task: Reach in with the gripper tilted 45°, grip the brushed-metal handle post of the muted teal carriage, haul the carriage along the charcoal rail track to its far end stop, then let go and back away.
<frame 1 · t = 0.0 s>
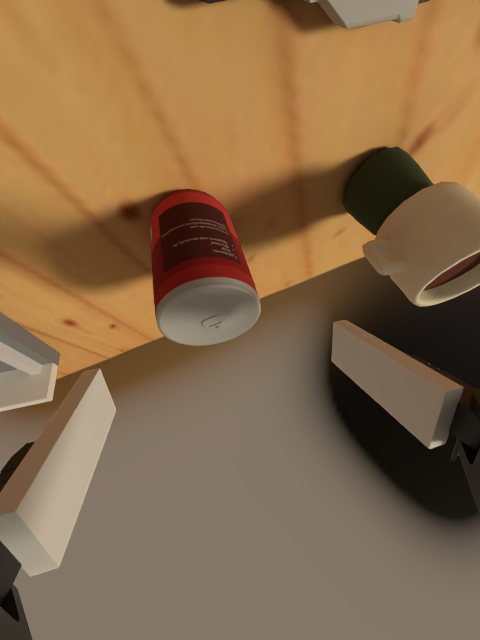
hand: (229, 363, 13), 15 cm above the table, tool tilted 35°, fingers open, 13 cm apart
canned food: (191, 225, 23), on the table
character mug: (369, 179, 23), on the table
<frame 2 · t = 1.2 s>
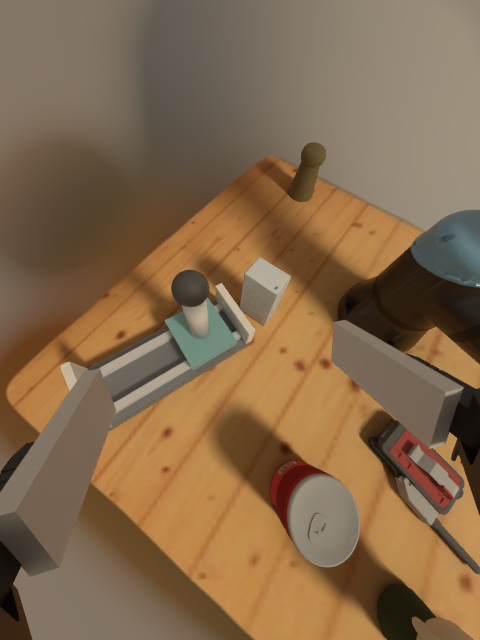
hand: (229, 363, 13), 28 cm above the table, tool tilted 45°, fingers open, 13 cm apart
rail track: (172, 358, 41), on the table
skincare box: (256, 310, 46), on the table
canned food: (294, 489, 35), on the table
carriage: (196, 313, 31), point 12 cm above the table, slide at -6.0 cm
olive pawn figure: (299, 193, 60), on the table
character mug: (397, 612, 30), on the table
walkie-talkie: (421, 483, 37), on the table
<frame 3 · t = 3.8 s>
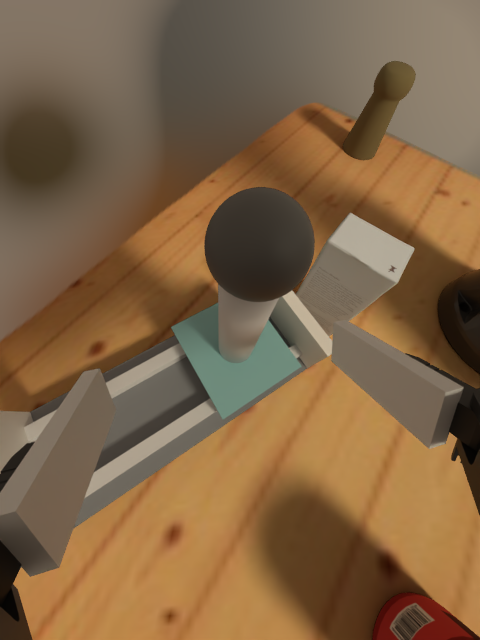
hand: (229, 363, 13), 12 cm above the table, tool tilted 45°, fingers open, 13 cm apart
rail track: (182, 390, 24), on the table
skincare box: (314, 311, 29), on the table
carriage: (242, 317, 15), point 12 cm above the table, slide at -6.0 cm
olive pawn figure: (358, 150, 43), on the table
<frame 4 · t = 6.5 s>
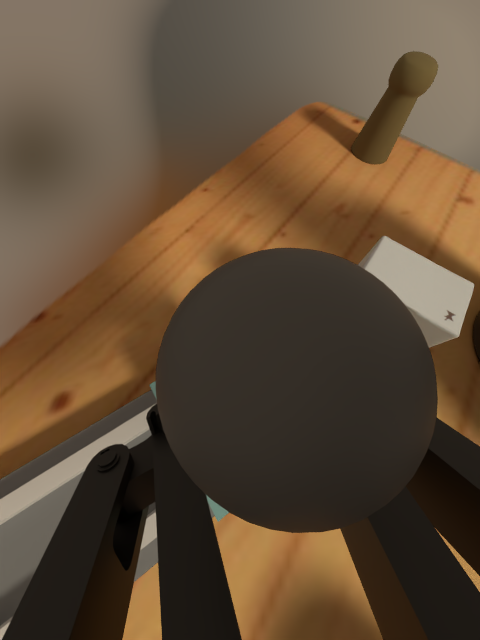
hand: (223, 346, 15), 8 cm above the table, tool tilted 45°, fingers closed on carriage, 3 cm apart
rail track: (168, 456, 19), on the table
skincare box: (328, 345, 24), on the table
carriage: (243, 402, 10), point 12 cm above the table, slide at -6.0 cm, touching gripper
olive pawn figure: (368, 153, 38), on the table
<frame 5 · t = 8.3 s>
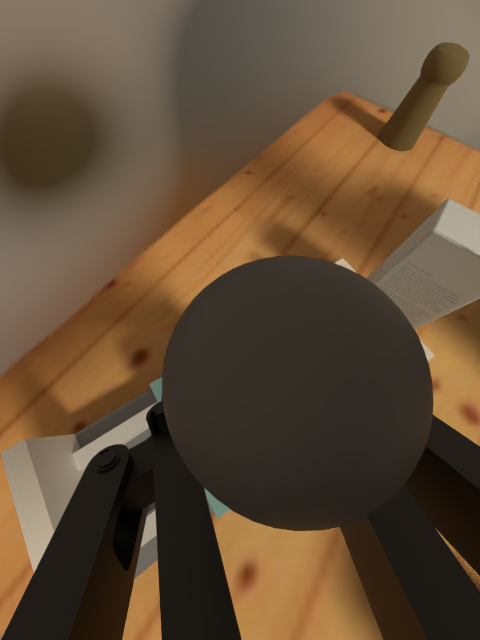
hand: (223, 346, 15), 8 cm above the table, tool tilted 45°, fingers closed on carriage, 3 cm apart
rail track: (240, 403, 21), on the table
skincare box: (372, 312, 27), on the table
carriage: (243, 402, 10), point 12 cm above the table, slide at 1.2 cm, touching gripper
olive pawn figure: (395, 141, 41), on the table
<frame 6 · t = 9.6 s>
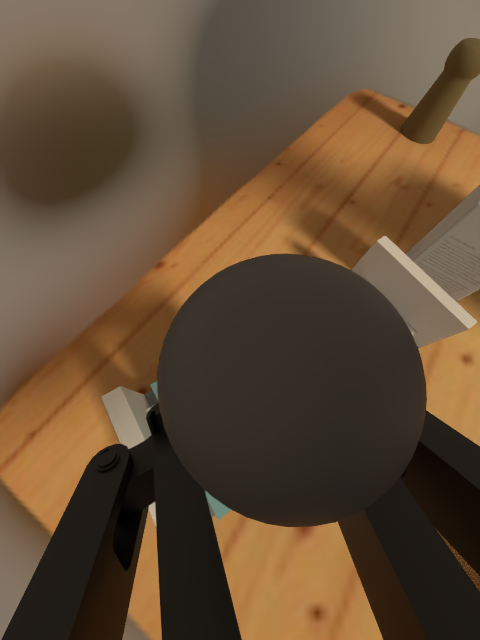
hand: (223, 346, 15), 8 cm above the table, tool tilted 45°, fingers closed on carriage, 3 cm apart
rail track: (287, 373, 23), on the table
skincare box: (404, 292, 28), on the table
carriage: (243, 402, 10), point 12 cm above the table, slide at 6.5 cm, touching gripper
olive pawn figure: (416, 134, 42), on the table
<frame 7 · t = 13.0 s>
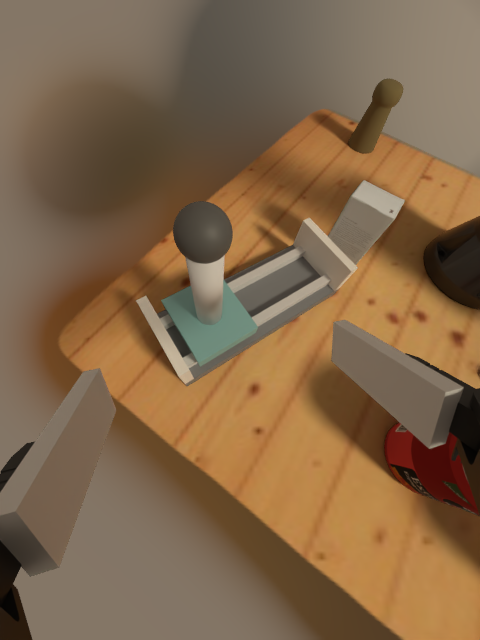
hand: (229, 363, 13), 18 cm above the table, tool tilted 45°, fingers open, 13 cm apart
rail track: (248, 308, 35), on the table
skincare box: (334, 259, 40), on the table
canned food: (411, 454, 29), on the table
carriage: (207, 284, 22), point 12 cm above the table, slide at 6.6 cm
olive pawn figure: (360, 146, 54), on the table
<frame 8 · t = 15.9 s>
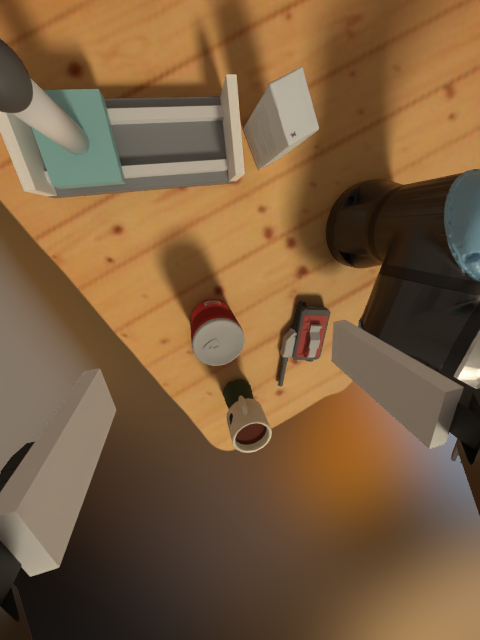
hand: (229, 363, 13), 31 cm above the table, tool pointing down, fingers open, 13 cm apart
rail track: (141, 150, 33), on the table
skincare box: (261, 144, 37), on the table
canned food: (211, 317, 45), on the table
carriage: (45, 115, 21), point 12 cm above the table, slide at 6.6 cm
character mug: (236, 389, 52), on the table
walkie-talkie: (298, 343, 52), on the table
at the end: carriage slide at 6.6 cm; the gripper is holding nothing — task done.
